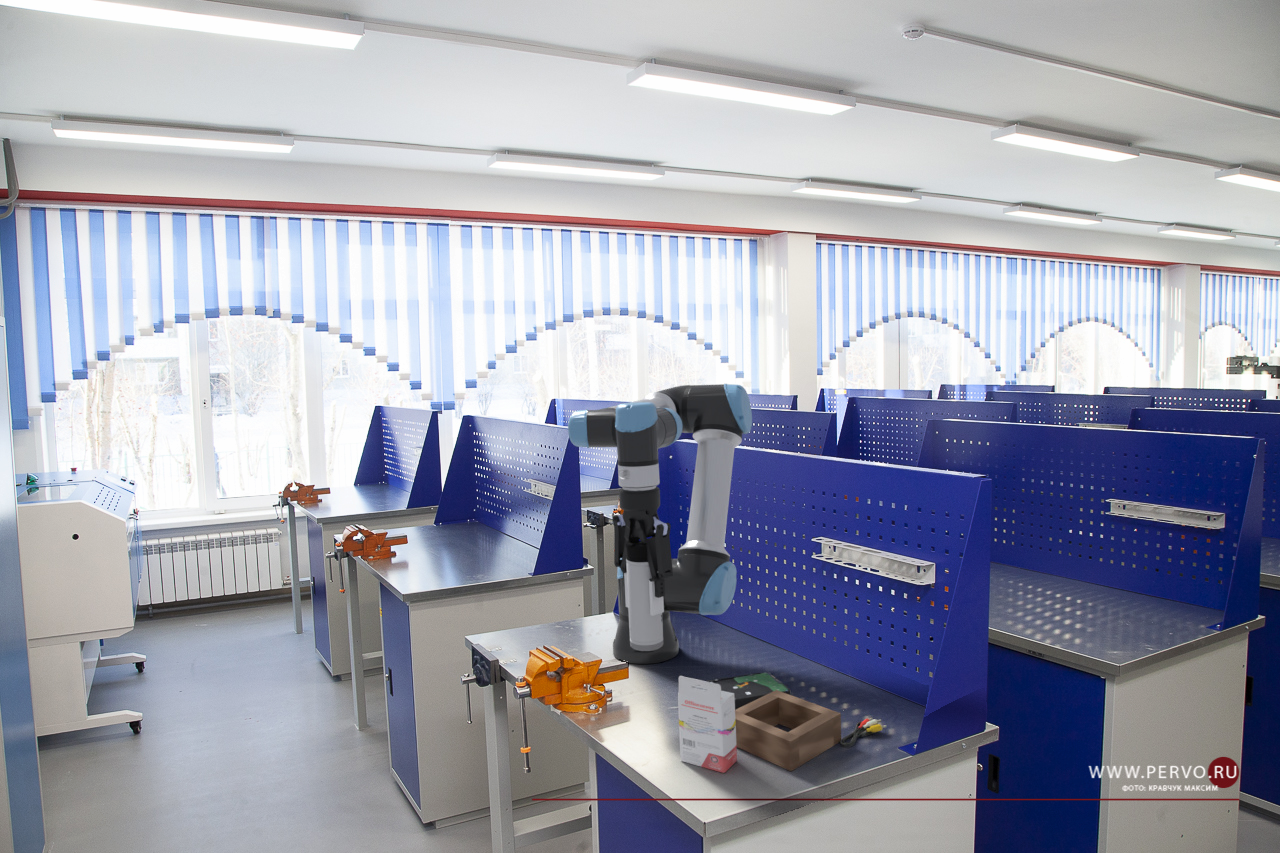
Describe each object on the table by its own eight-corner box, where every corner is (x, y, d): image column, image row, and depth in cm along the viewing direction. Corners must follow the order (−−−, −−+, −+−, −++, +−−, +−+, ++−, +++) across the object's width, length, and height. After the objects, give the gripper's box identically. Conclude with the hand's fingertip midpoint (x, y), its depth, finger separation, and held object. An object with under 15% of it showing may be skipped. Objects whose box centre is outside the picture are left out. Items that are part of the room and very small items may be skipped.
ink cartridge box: (738, 760, 131) (735, 675, 130) (724, 774, 127) (721, 686, 126) (693, 748, 136) (690, 665, 135) (678, 761, 132) (675, 675, 130)
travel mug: (621, 645, 148) (616, 541, 146) (648, 636, 152) (644, 534, 150) (643, 654, 143) (638, 546, 141) (670, 645, 147) (666, 539, 145)
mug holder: (726, 742, 137) (725, 714, 137) (777, 715, 147) (776, 690, 146) (791, 771, 127) (790, 741, 127) (841, 741, 136) (840, 713, 136)
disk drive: (721, 716, 149) (792, 703, 153) (720, 702, 149) (792, 689, 153) (702, 694, 159) (769, 682, 163) (701, 681, 159) (768, 669, 163)
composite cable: (847, 750, 134) (847, 736, 133) (827, 739, 138) (827, 725, 138) (888, 734, 139) (887, 721, 138) (867, 724, 143) (867, 711, 143)
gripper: (590, 484, 149) (596, 603, 151) (659, 495, 135) (665, 626, 137) (621, 479, 154) (626, 594, 156) (690, 489, 140) (695, 615, 142)
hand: (644, 609), depth 147 cm, fingers closed on travel mug, 6 cm apart
